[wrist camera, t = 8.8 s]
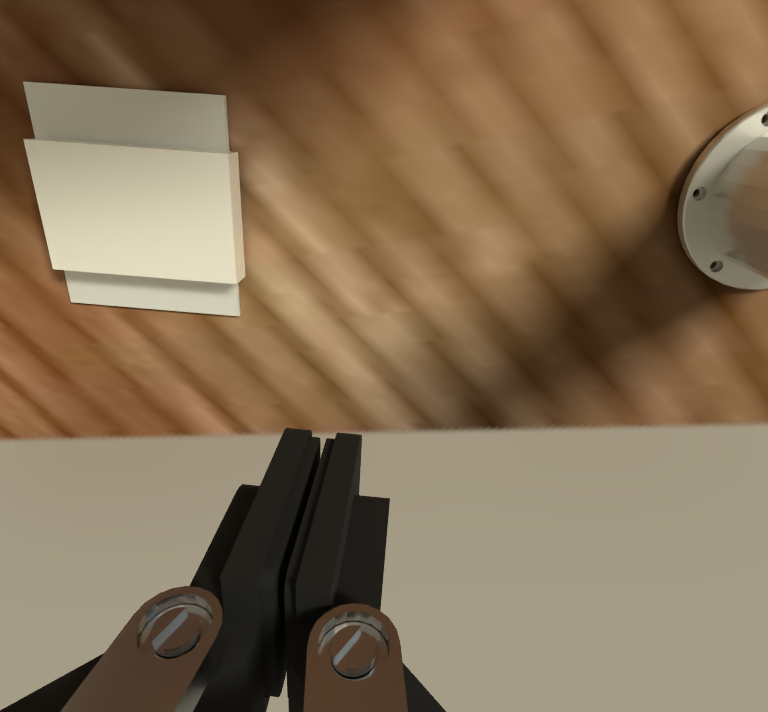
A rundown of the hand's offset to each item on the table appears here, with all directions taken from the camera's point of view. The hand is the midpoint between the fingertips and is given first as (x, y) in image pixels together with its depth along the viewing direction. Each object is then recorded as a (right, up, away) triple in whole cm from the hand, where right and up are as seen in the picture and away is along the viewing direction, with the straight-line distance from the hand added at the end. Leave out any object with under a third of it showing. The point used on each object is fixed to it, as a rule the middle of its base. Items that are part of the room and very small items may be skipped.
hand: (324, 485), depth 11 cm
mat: (-17, +14, +27) cm, 35 cm away
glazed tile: (-9, +13, +25) cm, 30 cm away
